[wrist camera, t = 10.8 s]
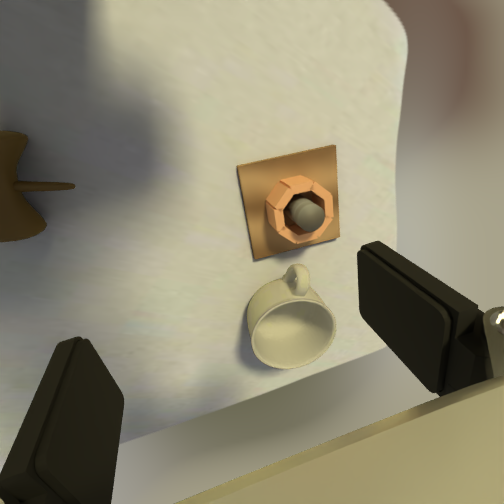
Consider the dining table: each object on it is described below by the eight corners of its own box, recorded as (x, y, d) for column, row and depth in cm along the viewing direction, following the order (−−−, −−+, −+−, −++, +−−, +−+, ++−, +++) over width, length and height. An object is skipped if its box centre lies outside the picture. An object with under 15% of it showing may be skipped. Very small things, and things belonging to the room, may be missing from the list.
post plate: (236, 165, 35) (249, 175, 30) (332, 144, 37) (361, 150, 31) (253, 256, 41) (267, 280, 35) (337, 234, 42) (362, 253, 37)
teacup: (296, 335, 48) (318, 373, 41) (230, 329, 45) (242, 369, 38) (329, 255, 44) (360, 283, 36) (258, 241, 40) (277, 269, 33)
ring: (262, 184, 36) (271, 190, 33) (317, 171, 37) (331, 176, 34) (270, 237, 39) (279, 248, 36) (321, 224, 40) (334, 233, 37)
